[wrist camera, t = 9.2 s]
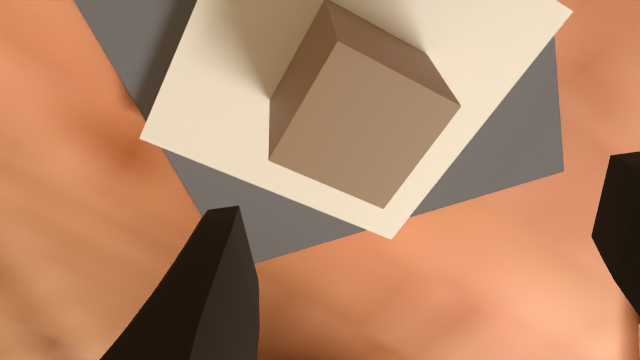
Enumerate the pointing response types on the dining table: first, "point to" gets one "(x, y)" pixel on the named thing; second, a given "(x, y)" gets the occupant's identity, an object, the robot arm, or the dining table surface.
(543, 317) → the dining table surface
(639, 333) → the white wedge ramp
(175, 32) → the mat
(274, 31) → the cover
